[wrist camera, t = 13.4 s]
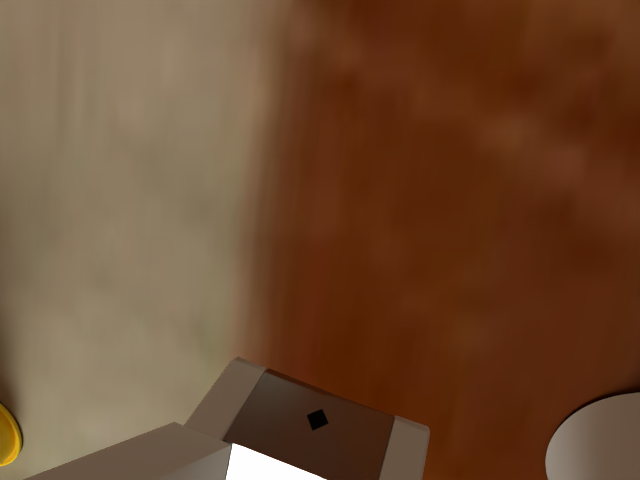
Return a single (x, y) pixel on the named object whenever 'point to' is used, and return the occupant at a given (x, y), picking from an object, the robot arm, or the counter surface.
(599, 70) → the counter surface
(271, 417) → the robot arm
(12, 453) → the stacking cups
